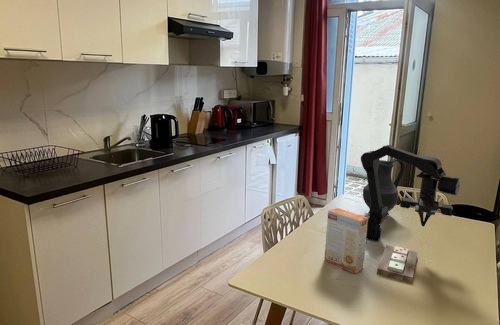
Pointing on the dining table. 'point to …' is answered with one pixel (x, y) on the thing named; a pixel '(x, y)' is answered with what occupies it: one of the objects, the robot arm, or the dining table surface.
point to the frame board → (408, 267)
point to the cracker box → (346, 239)
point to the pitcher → (386, 184)
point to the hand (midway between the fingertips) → (422, 226)
